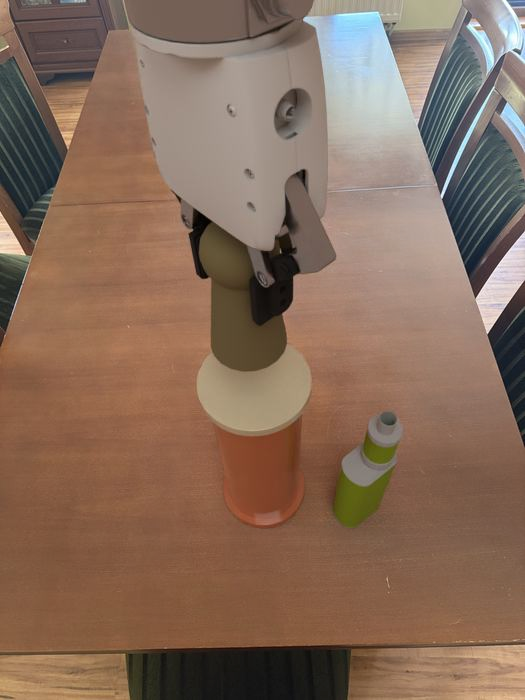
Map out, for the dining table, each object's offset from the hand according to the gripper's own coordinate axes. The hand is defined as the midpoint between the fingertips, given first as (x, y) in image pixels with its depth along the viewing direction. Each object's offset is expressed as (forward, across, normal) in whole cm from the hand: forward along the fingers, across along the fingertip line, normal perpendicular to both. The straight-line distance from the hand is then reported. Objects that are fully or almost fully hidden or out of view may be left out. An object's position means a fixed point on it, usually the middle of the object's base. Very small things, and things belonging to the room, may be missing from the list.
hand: (243, 287), depth 35 cm
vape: (+35, -9, -7) cm, 37 cm away
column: (+35, 0, 0) cm, 35 cm away
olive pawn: (+6, 0, 0) cm, 6 cm away
